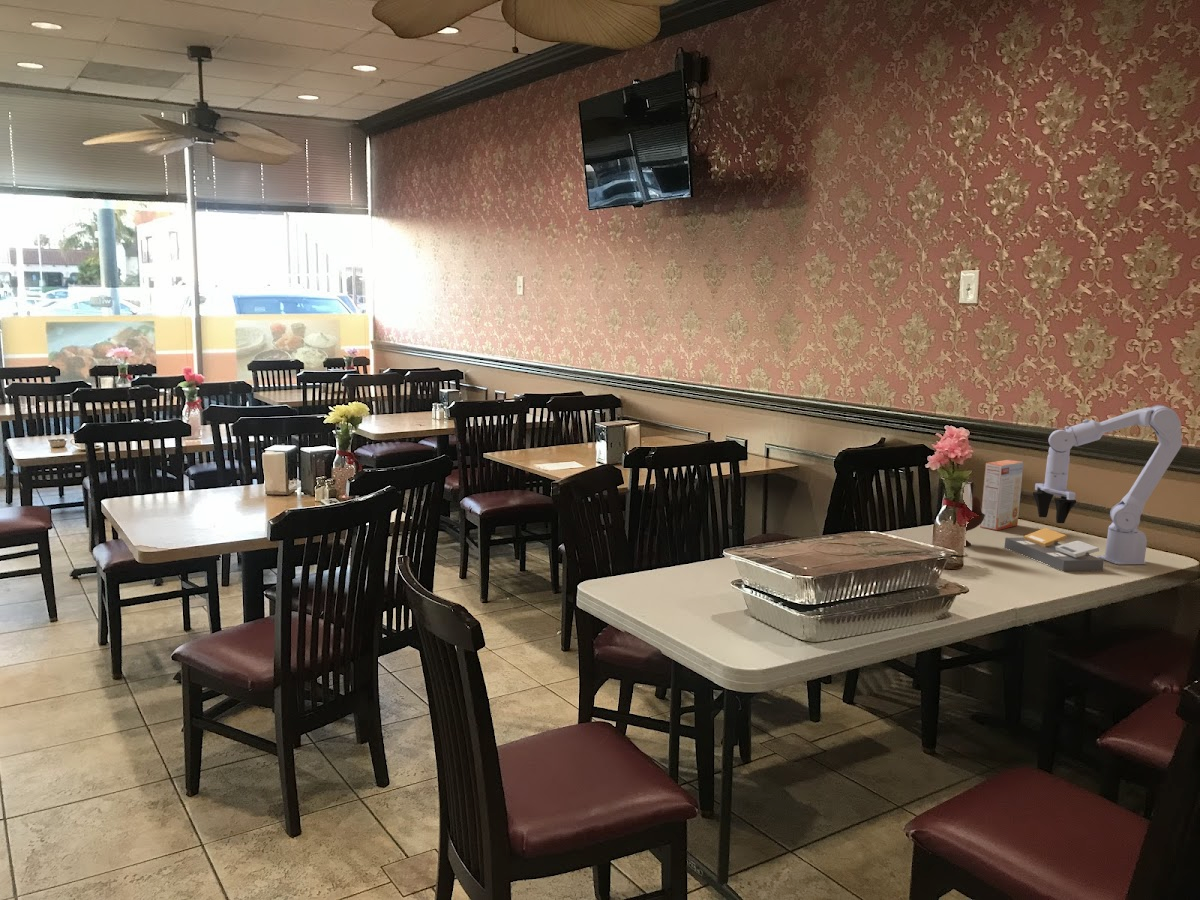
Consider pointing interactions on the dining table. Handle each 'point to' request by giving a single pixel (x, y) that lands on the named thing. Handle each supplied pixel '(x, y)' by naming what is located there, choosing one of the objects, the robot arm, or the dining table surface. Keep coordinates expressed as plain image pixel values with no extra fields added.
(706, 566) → the dining table surface
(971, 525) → the ice cream bowl
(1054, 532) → the plate
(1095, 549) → the rocker
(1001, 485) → the cracker box
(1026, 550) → the rocker switch panel
